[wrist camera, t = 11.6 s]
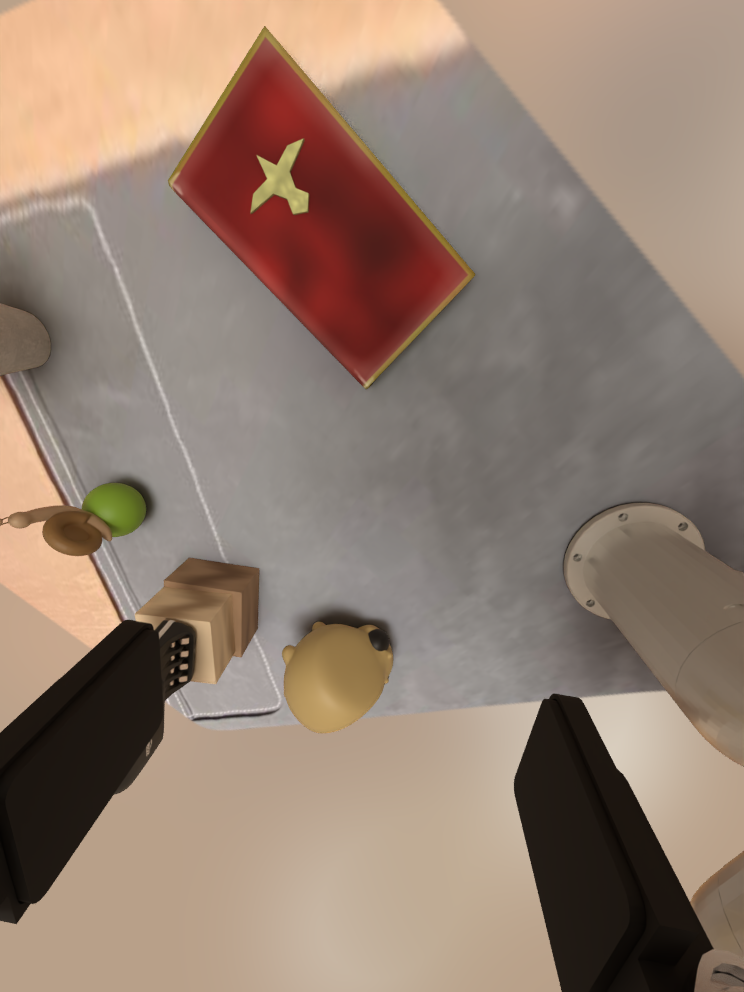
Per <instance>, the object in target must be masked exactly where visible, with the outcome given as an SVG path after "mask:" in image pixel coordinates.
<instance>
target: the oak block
mask: <svg viewBox="0 0 744 992" xmlns="http://www.w3.org/2000/svg"><path fill="white" fill-rule="evenodd" d="M135 618H136V621H139V622H145V623H150V624H152V625H153V627H154V630H155V629H156V628H157V627H158V626H159V625H160V623H161V622H162V621H163V620H168V621H169V620H173V621H175V622H178V623H182V624H185V625H188V626H189V627H191V628H192V629H193V630H194V631H195V634H196V650H195V666H194V675H193V678H192V679H191V681H194V682H202V683H211V684H216V683H217V681H218V680H219V678H220V676H221V675H222V673H223V671H224V670H225V668H226V666H227V665H228V663H229V661H230V660H231V658H232V656H233V655H234V653H235V637H234V622H233V607H232V594H227V593H218V592H208V591H198V590H189V589H179V588H170V587H163V588H162V589H161V590H160V591H159V592H158V593H157V594H156V595H155V596H154V597H153V598H151V599H150V600H149V601H148V602H147V603H146V604H145V605H144V606H143V607H142V608H141V609H140V610H139V611H137V612H136V613H135Z"/></svg>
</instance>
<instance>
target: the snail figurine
mask: <svg viewBox="0 0 744 992" xmlns="http://www.w3.org/2000/svg"><path fill="white" fill-rule="evenodd" d="M145 515H146V504H145V501H144V499H143V497H142V496H141V494H140V493H139V492H138V491H137V490H135V489H134V488H132V487H131V486H128V485H126V484H121V483H108V484H103V485H101V486H98V487H96V488H95V489H93V490H92V491H91V492H90V493H89V494H88V495H87V496H86V498H85V499H84V501H83V504H82V509H79V508H76V507H72V506H49V507H43V508H38V509H34V510H30V511H27V512H17V513H14V514H11V515H10V516H9V517H6V518H8V522H6V523H9V524H10V525H11V526H12V527H14V528H25V527H27V526H29V525H30V524H32V523H36V522H41V521H46V522H45V524H44V526H43V531H42V533H43V537H44V539H45V541H46V542H47V543H48V545H49V546H51V547H52V548H53V549H55V550H56V551H58V552H61V553H63V554H67V555H71V556H84V555H88V554H92V553H93V552H95V551H97V550H98V549H99V548H100V546H101V544H102V537H103V538H104V539H105V540H107V541H111V540H112V537H119V536H124V535H127V534H129V533H131V532H133V531H134V530H136V529H137V528H138V527H139V526H140V525H141V523H142V522H143V520H144V518H145ZM6 518H4V519H6ZM4 519H0V526H1V525H3V524H6V523H3V520H4ZM2 523H3V524H2Z"/></svg>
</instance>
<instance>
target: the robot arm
mask: <svg viewBox="0 0 744 992" xmlns="http://www.w3.org/2000/svg"><path fill="white" fill-rule="evenodd" d="M575 554H576V555H575ZM563 566H564V577H565V580H566V584H567V586H568V588H569V590H570V592H571V593H572V595H573V596H574V597H575V599H576V600H577V601H578V603H579V604H580V605H582V606H583V607H584V608H585V609H586V610H588V611H590V612H592V613H593V614H595V615H598V616H600V617H603V618H606V619H611V620H612V621H613V622H614V624H615V625H616V626H617V627H618V629H619V630H620V631H621V633H622V634H623V635H624V636H625V638H626V639H627V640H628V642H629V643H630V644H631V646H632V647H633V648H634V649H635V651H636V652H637V653H638V655H639V656H640V657H641V658H642V660H643V661H644V662H645V664H646V665H647V666H648V668H649V669H650V670H651V671H652V673H653V674H654V675H655V677H656V678H657V679H658V680H659V682H660V683H661V684H662V686H663V687H664V688H665V690H666V691H667V692H668V693H669V694H670V696H671V697H672V699H673V700H674V701H675V702H676V703H677V705H678V706H679V708H680V709H681V710H682V711H683V713H684V714H685V715H686V717H687V718H688V719H689V720H690V722H691V723H692V724H693V725H694V727H695V728H696V729H697V730H698V732H699V733H700V734H701V735H702V736H703V737H704V738H705V739H706V740H707V741H708V742H709V743H710V744H711V745H712V746H713V747H715V748H716V749H717V750H718V751H719V752H721V753H722V754H724V755H725V756H727V757H728V758H729V759H731V760H732V761H734V762H736V763H738V764H740V765H742V766H743V767H744V573H743V572H741V571H737V570H734V569H732V568H731V567H729V566H728V565H726V564H725V563H723V562H721V561H720V560H718V559H717V558H715V557H714V556H712V555H711V554H709V553H708V552H706V551H705V546H704V541H703V539H702V537H701V534H700V532H699V530H698V529H697V528H696V527H695V525H694V524H693V523H692V522H691V521H690V520H688V519H687V518H686V517H685V516H683V515H682V514H680V513H678V512H676V511H675V510H673V509H671V508H668V507H665V506H662V505H659V504H652V503H631V504H625V505H620V506H617V507H614V508H611V509H609V510H606V511H604V512H603V513H601V514H599V515H597V516H595V517H594V518H592V519H591V520H590V521H589V522H587V523H586V524H585V525H584V526H583V527H582V528H581V529H580V530H579V531H578V532H577V533H576V535H575V536H574V538H573V539H572V541H571V542H570V544H569V546H568V549H567V552H566V554H565V559H564V565H563ZM163 712H164V711H163V694H162V677H161V660H160V642H159V633H158V632H157V631H154V627H153V625H152V624H150V623H145V622H139V621H133V620H125V621H123V622H122V623H121V624H119V625H118V626H117V627H116V628H115V629H114V630H113V631H112V632H111V633H110V634H109V635H107V636H106V637H105V638H104V639H103V640H102V641H101V642H100V643H99V644H98V645H96V646H95V647H94V648H93V649H92V650H91V651H90V652H89V653H88V654H87V655H86V656H85V657H83V658H82V659H81V660H80V661H79V662H78V663H77V664H76V665H75V666H74V667H72V668H71V669H70V670H69V671H68V672H67V673H66V674H65V675H64V676H63V677H61V678H60V679H59V680H58V681H57V682H55V683H54V684H53V685H52V686H51V687H50V688H49V689H48V690H47V691H45V692H44V693H43V694H42V695H41V696H40V697H39V698H38V699H37V700H36V701H35V702H33V703H32V704H31V705H30V706H29V707H28V708H27V709H26V710H25V711H24V712H22V713H21V714H20V715H19V716H18V717H17V718H16V719H15V720H14V721H13V722H11V723H10V724H9V725H8V726H7V727H6V728H5V729H4V730H3V731H2V732H1V733H0V921H4V922H9V923H14V924H17V922H18V921H19V920H20V918H21V917H22V915H23V914H24V912H25V911H26V910H27V908H28V907H29V905H30V904H34V903H37V902H38V901H40V900H41V899H42V897H43V896H44V895H45V894H46V893H47V891H48V890H49V889H50V887H51V886H52V884H53V882H54V881H55V880H56V878H57V877H58V875H59V874H60V872H61V871H62V869H63V868H64V867H65V865H66V864H67V862H68V861H69V859H70V858H71V856H72V855H73V853H74V852H75V850H76V849H77V848H78V846H79V845H80V843H81V842H82V840H83V838H84V837H85V835H86V834H87V833H88V831H89V830H90V828H91V827H92V825H93V824H94V822H95V821H96V820H97V818H98V816H99V815H100V814H101V812H102V811H103V809H104V808H105V806H106V805H107V803H108V801H110V799H111V798H112V796H113V795H114V793H115V792H116V790H117V789H118V787H119V786H120V784H121V783H122V781H123V780H124V778H125V777H126V776H127V774H128V773H129V771H130V770H131V768H132V767H133V765H134V764H135V762H136V761H137V759H138V758H139V756H140V755H141V754H142V752H143V751H144V749H145V748H146V746H147V745H148V743H149V742H150V740H151V739H152V737H153V736H154V734H155V733H156V731H157V730H158V728H159V726H160V724H161V722H162V719H163ZM514 793H515V798H516V802H517V806H518V811H519V815H520V819H521V823H522V827H523V832H524V836H525V840H526V844H527V848H528V852H529V857H530V861H531V865H532V869H533V873H534V878H535V882H536V886H537V890H538V894H539V898H540V903H541V907H542V911H543V915H544V919H545V923H546V928H547V932H548V936H549V940H550V944H551V949H552V953H553V957H554V961H555V965H556V969H557V974H558V977H559V982H560V986H561V990H562V992H744V851H743V852H742V853H740V854H739V855H738V856H736V857H735V858H734V859H732V860H731V861H730V862H728V863H727V864H726V865H724V866H723V868H721V869H720V870H719V871H717V872H716V873H715V874H714V875H712V876H711V877H710V878H709V879H708V880H707V881H706V882H704V883H703V884H702V885H701V886H700V887H699V889H698V890H697V891H696V893H695V894H694V895H693V897H692V899H691V901H690V902H689V900H688V898H687V896H686V894H685V892H684V890H683V888H682V886H681V884H680V882H679V880H678V878H677V876H676V874H675V872H674V871H673V869H672V866H671V865H670V863H669V861H668V859H667V857H666V855H665V853H664V851H663V849H662V847H661V845H660V843H659V841H658V839H657V838H656V835H655V833H654V832H653V830H652V828H651V826H650V824H649V822H648V820H647V818H646V816H645V814H644V812H643V810H642V808H641V806H640V804H639V802H638V800H637V798H636V797H635V795H634V793H633V791H632V789H631V787H630V785H629V783H628V781H627V780H626V778H625V777H624V775H623V774H622V773H621V772H620V771H619V770H618V769H617V768H616V766H615V764H614V763H613V760H612V758H611V756H610V754H609V752H608V750H607V749H606V747H605V745H604V743H603V741H602V739H601V737H600V735H599V733H598V731H597V729H596V727H595V725H594V723H593V721H592V719H591V717H590V715H589V713H588V711H587V709H586V707H585V705H584V703H583V702H582V700H581V699H580V698H577V697H571V696H565V695H560V694H552V695H551V696H550V698H549V699H544V700H543V701H542V703H541V706H540V709H539V711H538V714H537V717H536V720H535V723H534V725H533V728H532V731H531V734H530V736H529V739H528V742H527V745H526V748H525V750H524V753H523V756H522V759H521V762H520V764H519V767H518V770H517V773H516V775H515V779H514Z"/></svg>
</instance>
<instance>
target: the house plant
mask: <svg viewBox="0 0 744 992" xmlns="http://www.w3.org/2000/svg"><path fill="white" fill-rule="evenodd" d="M50 351H51V342H50V338H49V335H48V332H47V330H46V329H45V327H44V325H43V324H42V323H41V322H40V321H39V319H37V318H36V317H35V316H34V315H32V314H30V313H28V312H26V311H23V310H20V309H17V308H14V307H10V306H7V305H4V304H1V303H0V376H1V375H5V374H9V373H14V372H18V371H23V370H27V369H32V368H36V367H39V366H41V365H43V364H44V363H45V362H46V361H47V360H48V358H49V356H50Z"/></svg>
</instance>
